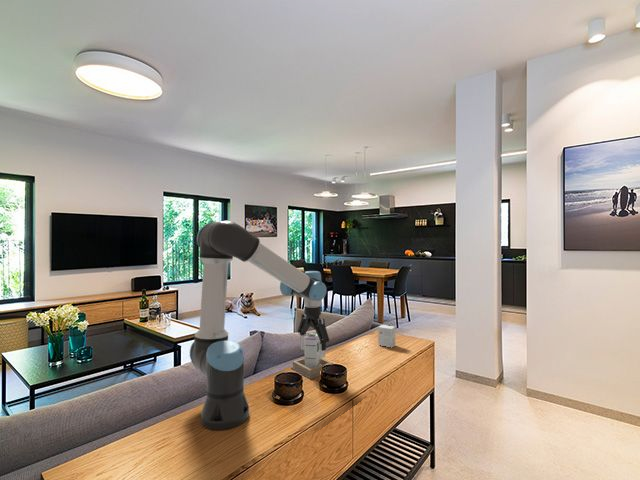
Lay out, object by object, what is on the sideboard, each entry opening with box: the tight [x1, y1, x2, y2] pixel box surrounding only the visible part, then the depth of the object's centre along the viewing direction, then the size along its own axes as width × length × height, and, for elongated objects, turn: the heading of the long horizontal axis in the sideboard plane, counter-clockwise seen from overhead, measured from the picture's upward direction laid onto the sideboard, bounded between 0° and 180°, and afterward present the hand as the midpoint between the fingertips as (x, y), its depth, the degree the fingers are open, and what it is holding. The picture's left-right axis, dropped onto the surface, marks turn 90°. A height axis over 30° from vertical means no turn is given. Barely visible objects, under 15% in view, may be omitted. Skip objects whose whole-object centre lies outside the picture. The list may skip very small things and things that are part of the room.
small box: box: [377, 324, 396, 348], centre depth 177 cm, size 8×6×10 cm
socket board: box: [290, 357, 334, 379], centre depth 145 cm, size 14×14×3 cm
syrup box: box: [303, 332, 320, 369], centre depth 146 cm, size 6×6×14 cm
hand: (312, 353), depth 145 cm, fingers open, 13 cm apart
